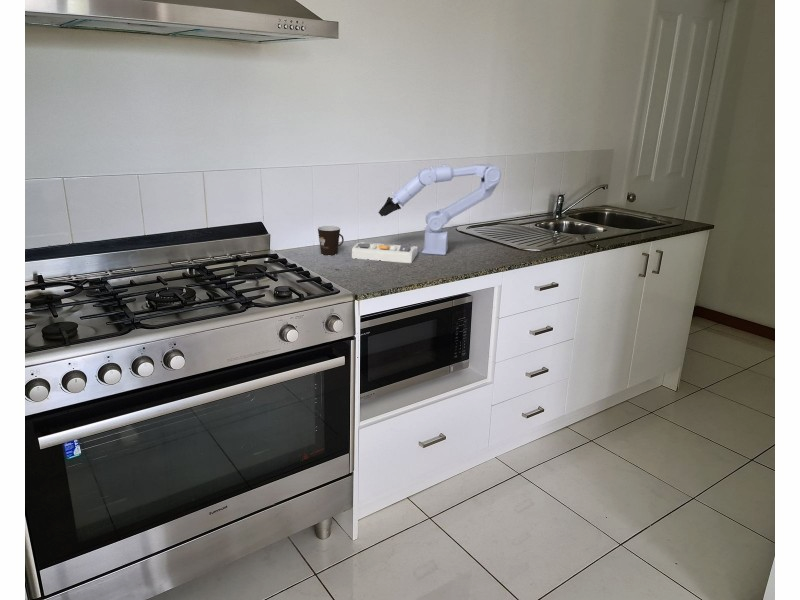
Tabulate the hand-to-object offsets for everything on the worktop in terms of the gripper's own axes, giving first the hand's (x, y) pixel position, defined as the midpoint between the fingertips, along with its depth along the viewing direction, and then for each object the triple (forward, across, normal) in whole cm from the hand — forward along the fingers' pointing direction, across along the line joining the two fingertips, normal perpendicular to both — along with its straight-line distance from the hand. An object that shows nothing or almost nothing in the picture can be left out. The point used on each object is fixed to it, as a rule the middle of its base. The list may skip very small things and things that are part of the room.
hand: (381, 214), depth 226 cm
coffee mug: (+25, +7, 0) cm, 26 cm away
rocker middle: (+7, +8, +11) cm, 15 cm away
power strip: (+9, +4, +14) cm, 17 cm away
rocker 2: (+1, +8, +17) cm, 19 cm away
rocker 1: (+13, +7, +6) cm, 16 cm away
